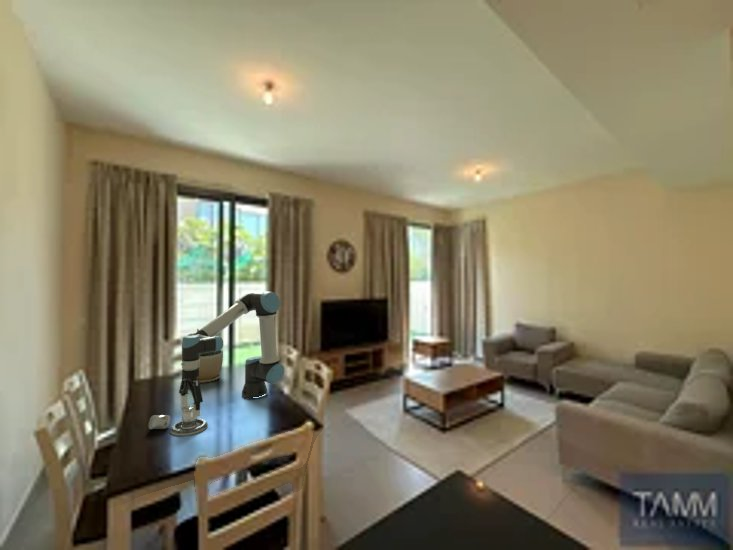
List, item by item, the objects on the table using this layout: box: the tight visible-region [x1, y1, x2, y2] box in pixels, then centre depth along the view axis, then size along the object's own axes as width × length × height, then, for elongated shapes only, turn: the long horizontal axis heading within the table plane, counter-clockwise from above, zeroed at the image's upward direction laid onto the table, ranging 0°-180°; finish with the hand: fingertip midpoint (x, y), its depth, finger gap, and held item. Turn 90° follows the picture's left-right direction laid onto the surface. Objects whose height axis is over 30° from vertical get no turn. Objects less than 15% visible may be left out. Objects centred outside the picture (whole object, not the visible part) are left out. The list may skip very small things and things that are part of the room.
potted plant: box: [196, 328, 224, 384], centre depth 240 cm, size 21×22×40 cm
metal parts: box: [148, 414, 209, 437], centre depth 165 cm, size 25×16×6 cm, turn 95°
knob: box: [181, 404, 198, 430], centre depth 166 cm, size 7×7×9 cm
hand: (190, 412), depth 166 cm, fingers open, 13 cm apart
